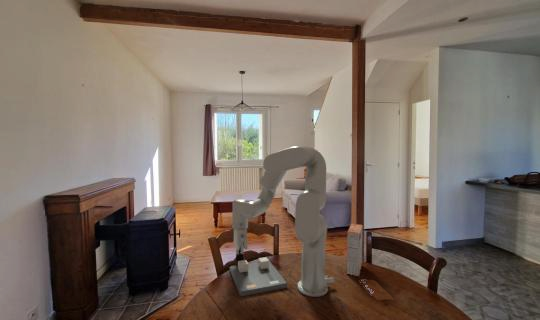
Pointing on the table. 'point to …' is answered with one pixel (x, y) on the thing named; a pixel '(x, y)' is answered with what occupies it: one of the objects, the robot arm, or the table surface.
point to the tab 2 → (263, 263)
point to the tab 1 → (243, 266)
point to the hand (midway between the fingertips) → (239, 261)
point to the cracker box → (354, 249)
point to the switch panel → (257, 279)
